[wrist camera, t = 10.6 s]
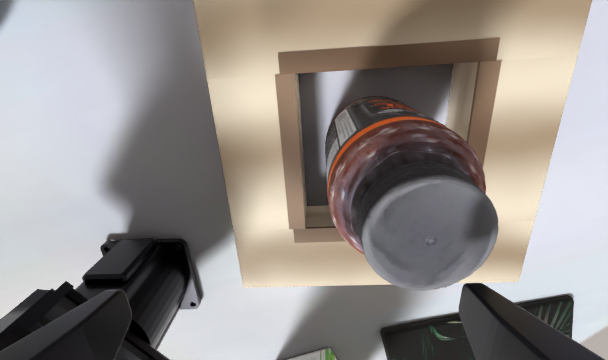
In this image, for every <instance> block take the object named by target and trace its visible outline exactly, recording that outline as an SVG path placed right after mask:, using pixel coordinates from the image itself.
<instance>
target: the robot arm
mask: <svg viewBox="0 0 608 360" xmlns="http://www.w3.org/2000/svg"><path fill="white" fill-rule="evenodd" d="M177 245H180V246H181V247H179V246H177ZM108 247H109V248H110V249H109V248H108ZM101 252H102V254H103V257H102V258H101V259H100V260H99V261H98V262H97V263H96V264H95V265H94V266H93V267H92V268H91V269H89V270H88V271H87V272H86V273H85V274H84V276H83V277H82V279H83V281H84V282H83V283H82V284H81V285H80V286H78V287H77V288H76V289H73V287H74V286H72V285H71V284H70V283H68V282H67V281H66V282H65V283H63V284H62V285H61V286H60V287H59V288H58V289H57V290H54V289H51V290H40V289H37V290H36V291H35V292H34V293H32V294H31V295H30V296H29V297H27V298H26V299H25V300H24V301H23V302H21V303H20V304H19V305H18V306H17V307H15V308H14V309H13V310H12V311H10V312H9V313H8V314H7V315H5V316H4V317H3V318H1V319H0V360H170V359H168V358H167V357H166V356H164V355H163V354H161V353H160V352H159V351H157V349H158V347H159V345H160V343H161V341H162V340H163V338H164V336H165V334H166V332H167V330H168V329H169V327H170V325H171V323H172V321H173V319H174V318H175V316H176V314H177V312H178V310H179V309H197V308H198V307H199V305H200V303H201V300H200V296H199V292H198V288H197V284H196V280H195V276H194V272H193V268H192V264H191V259H190V255H189V251H188V247H187V244H186V242H185V241H184V240H182V239H158V240H155V239H125V240H121V241H107V242H105V243H104V244H103V245H102V246H101ZM193 302H194V303H193ZM459 315H460V318H461V321H462V324H463V326H464V329H465V332H466V334H467V337H468V339H469V342H470V345H471V347H472V350H473V353H474V355H475V358H476V360H605V359H603V358H601V357H600V356H598V355H597V354H595V353H593V352H592V351H590V350H589V349H587V348H585V347H584V346H582V345H581V344H579V343H577V342H576V341H574V340H573V339H571V338H569V337H568V336H566V335H565V334H563V333H561V332H560V331H558V330H556V329H555V328H553V327H552V326H550V325H548V324H547V323H545V322H544V321H542V320H540V319H539V318H537V317H536V316H534V315H532V314H531V313H529V312H527V311H526V310H524V309H523V308H521V307H519V306H518V305H516V304H515V303H513V302H511V301H510V300H508V299H507V298H505V297H503V296H502V295H500V294H499V293H497V292H495V291H494V290H492V289H490V288H489V287H487V286H486V285H484V284H482V283H466V284H464V286H463V288H462V293H461V298H460V304H459Z"/></svg>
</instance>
